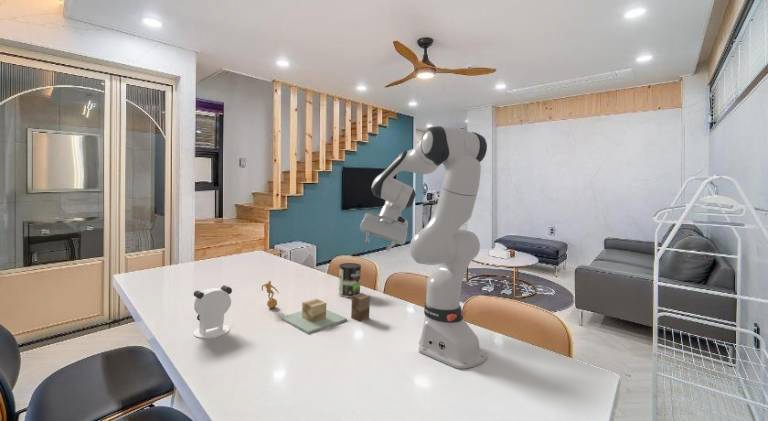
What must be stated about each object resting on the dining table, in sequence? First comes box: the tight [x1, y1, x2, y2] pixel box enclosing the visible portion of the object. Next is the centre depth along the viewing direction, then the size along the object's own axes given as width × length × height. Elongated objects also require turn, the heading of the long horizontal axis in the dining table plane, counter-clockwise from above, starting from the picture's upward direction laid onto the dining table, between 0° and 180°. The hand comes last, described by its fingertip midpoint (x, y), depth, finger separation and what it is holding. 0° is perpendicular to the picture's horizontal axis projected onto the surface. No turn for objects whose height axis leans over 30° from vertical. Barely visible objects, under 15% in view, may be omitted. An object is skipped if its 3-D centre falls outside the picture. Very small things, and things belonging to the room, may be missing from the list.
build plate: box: [280, 309, 348, 335], centre depth 136 cm, size 18×18×1 cm
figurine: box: [261, 280, 280, 309], centre depth 145 cm, size 8×6×12 cm
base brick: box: [301, 298, 327, 322], centre depth 136 cm, size 6×6×6 cm
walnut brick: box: [350, 292, 371, 323], centre depth 139 cm, size 5×5×9 cm
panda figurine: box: [193, 285, 233, 340], centre depth 122 cm, size 12×11×15 cm
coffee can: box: [338, 262, 362, 298], centre depth 168 cm, size 10×10×14 cm
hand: (377, 246), depth 146 cm, fingers open, 8 cm apart
